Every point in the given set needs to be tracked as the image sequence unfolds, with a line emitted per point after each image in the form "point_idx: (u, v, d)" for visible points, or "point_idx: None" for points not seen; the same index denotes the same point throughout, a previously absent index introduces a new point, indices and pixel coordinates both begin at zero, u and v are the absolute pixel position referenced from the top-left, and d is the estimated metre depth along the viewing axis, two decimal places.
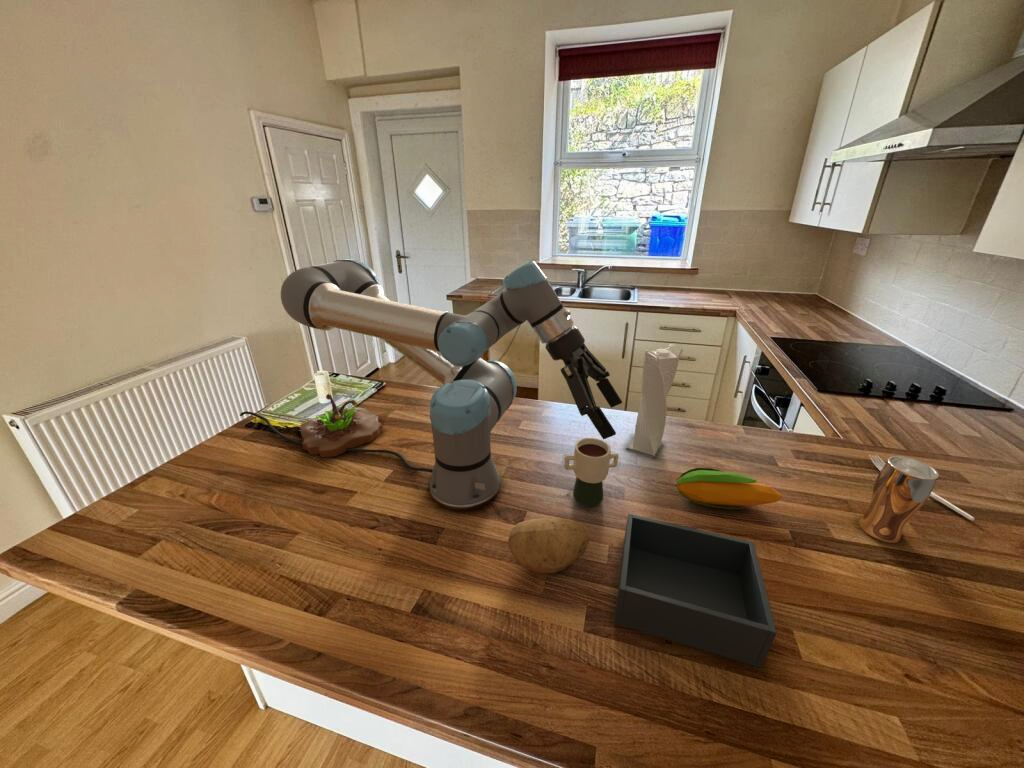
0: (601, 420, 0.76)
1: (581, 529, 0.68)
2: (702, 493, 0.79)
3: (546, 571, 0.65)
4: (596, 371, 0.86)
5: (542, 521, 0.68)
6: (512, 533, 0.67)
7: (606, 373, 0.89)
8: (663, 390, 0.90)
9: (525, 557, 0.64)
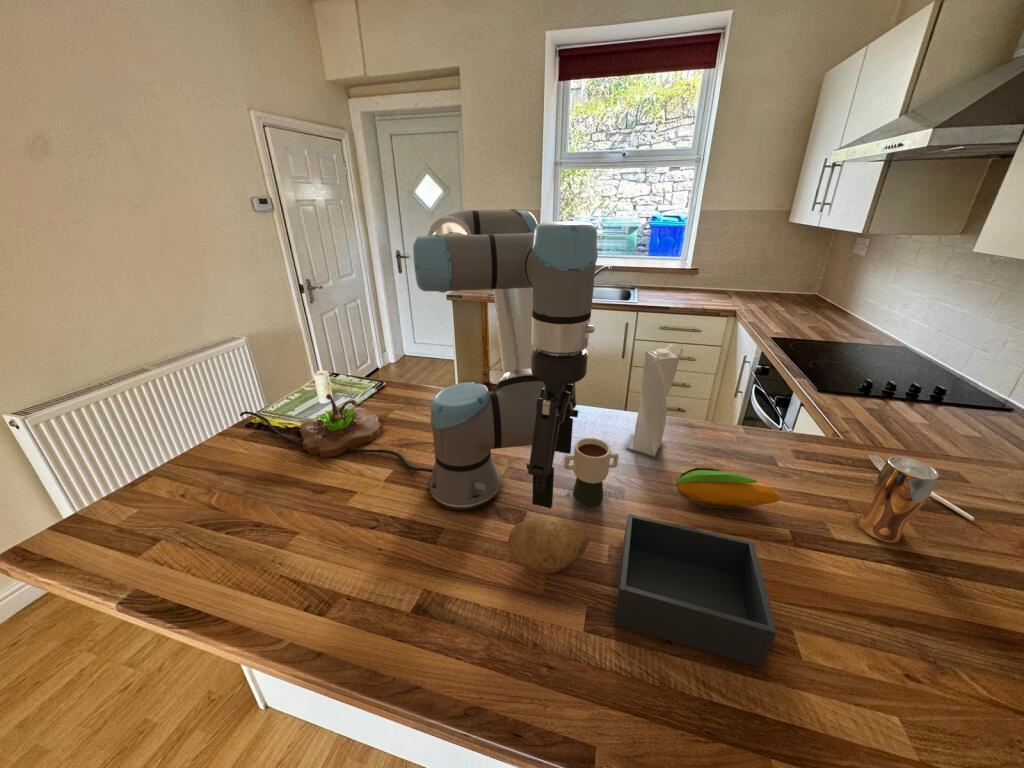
0: (546, 486, 0.54)
1: (581, 529, 0.68)
2: (702, 493, 0.79)
3: (546, 571, 0.65)
4: (568, 407, 0.62)
5: (542, 521, 0.68)
6: (512, 533, 0.67)
7: (575, 412, 0.65)
8: (663, 390, 0.90)
9: (525, 557, 0.64)
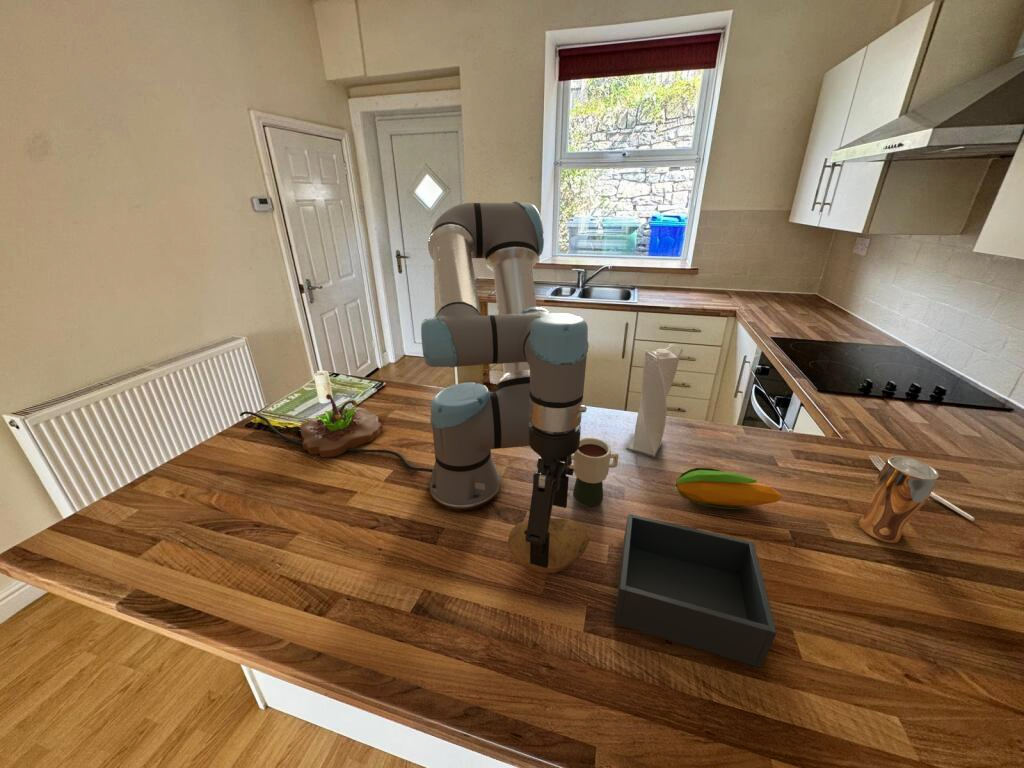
0: (542, 550, 0.58)
1: (581, 529, 0.68)
2: (702, 493, 0.79)
3: (546, 571, 0.65)
4: (563, 469, 0.67)
5: None
6: (512, 533, 0.67)
7: (570, 470, 0.70)
8: (663, 390, 0.90)
9: (525, 557, 0.64)
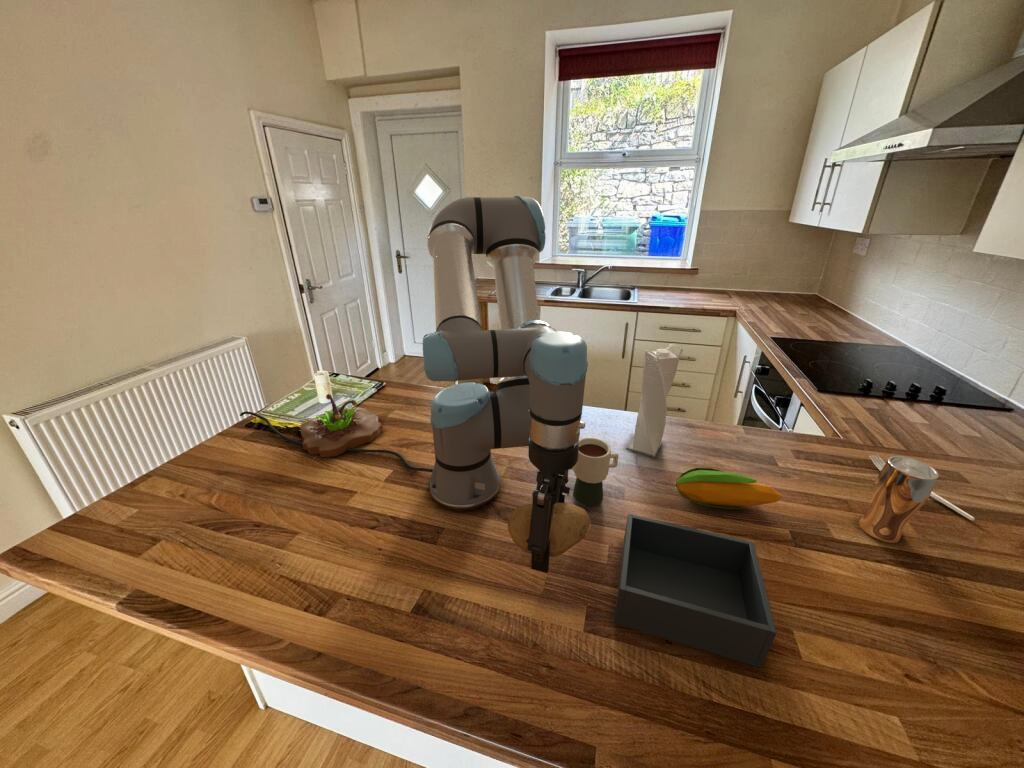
0: (543, 557, 0.62)
1: (582, 512, 0.67)
2: (702, 493, 0.79)
3: None
4: (560, 485, 0.68)
5: None
6: (512, 516, 0.66)
7: (567, 489, 0.71)
8: (663, 390, 0.90)
9: (525, 540, 0.63)
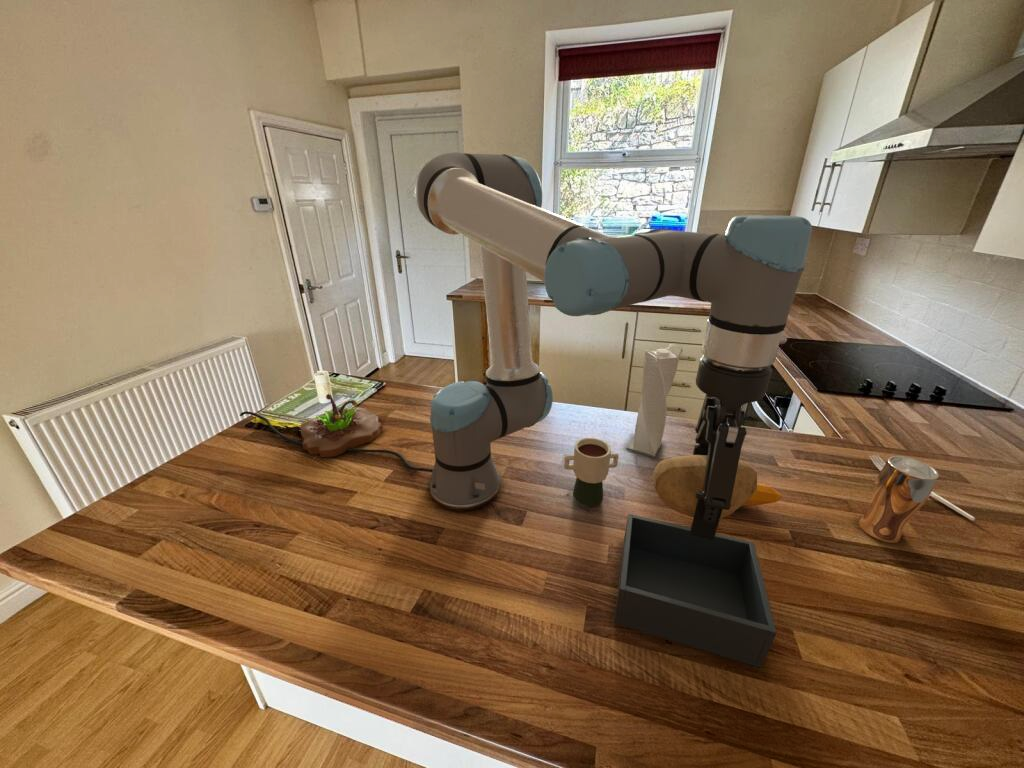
0: None
1: (748, 465, 0.53)
2: None
3: None
4: None
5: (696, 457, 0.54)
6: (662, 470, 0.53)
7: None
8: (663, 390, 0.90)
9: (686, 497, 0.50)
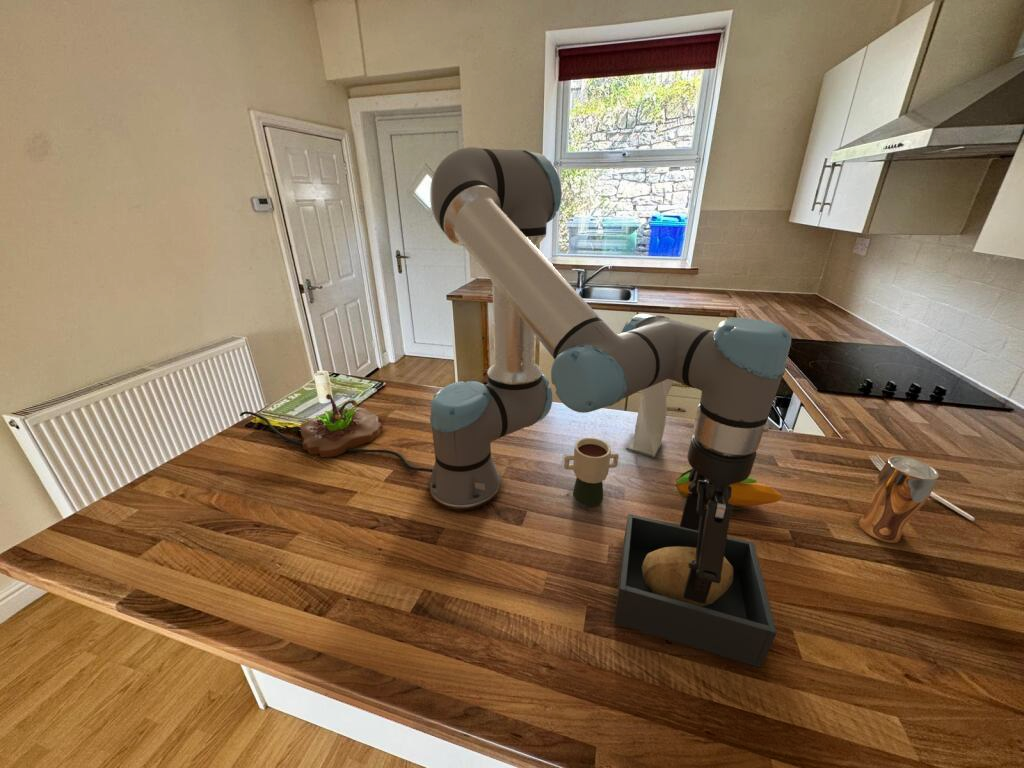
0: None
1: (725, 560, 0.61)
2: None
3: None
4: None
5: (680, 551, 0.62)
6: (650, 564, 0.60)
7: None
8: (663, 390, 0.90)
9: (669, 593, 0.58)
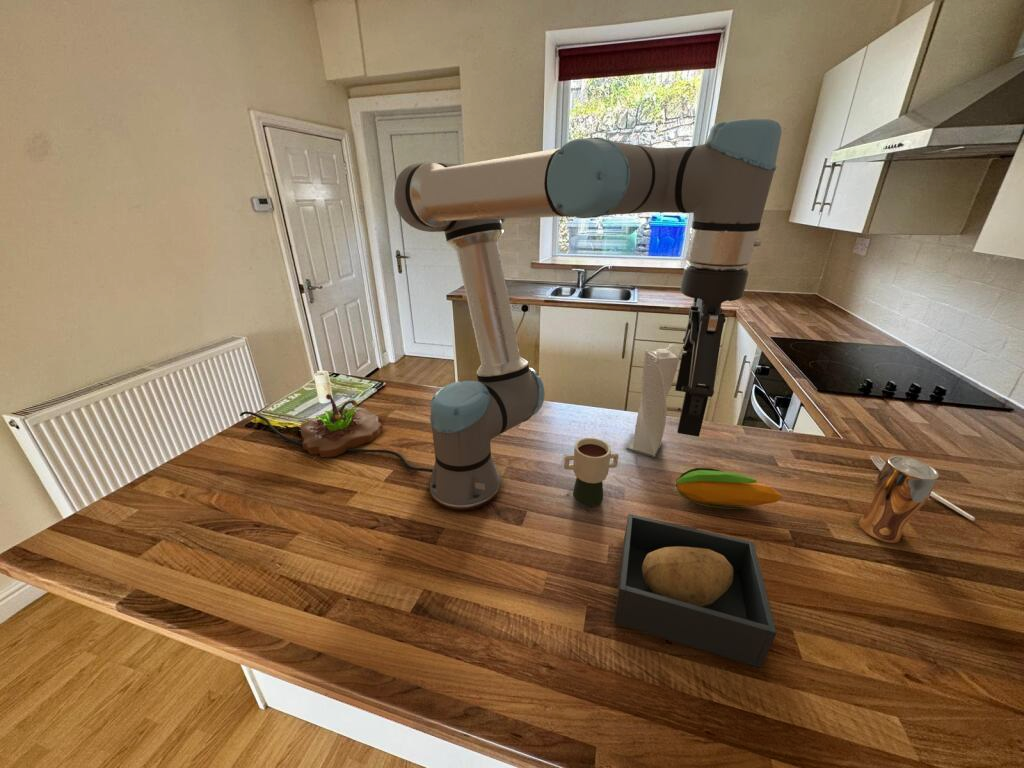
0: None
1: (725, 560, 0.61)
2: (702, 493, 0.79)
3: None
4: None
5: (680, 551, 0.62)
6: (650, 564, 0.60)
7: None
8: (663, 390, 0.90)
9: (669, 593, 0.58)
